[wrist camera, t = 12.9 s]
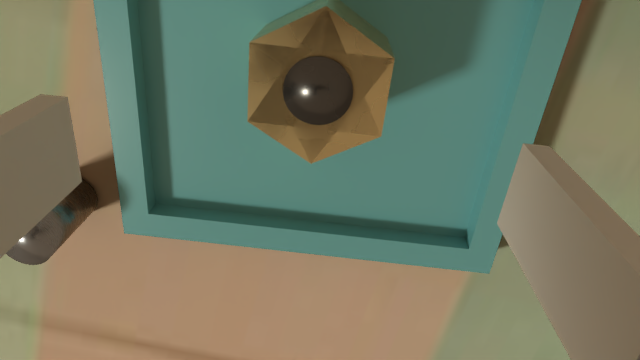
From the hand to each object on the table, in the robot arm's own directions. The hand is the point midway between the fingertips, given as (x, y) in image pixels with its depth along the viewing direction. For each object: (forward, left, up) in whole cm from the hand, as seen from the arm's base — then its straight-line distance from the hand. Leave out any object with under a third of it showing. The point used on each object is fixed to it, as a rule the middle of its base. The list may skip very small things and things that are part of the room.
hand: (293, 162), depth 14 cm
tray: (0, 0, -12) cm, 12 cm away
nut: (0, 0, -11) cm, 11 cm away
